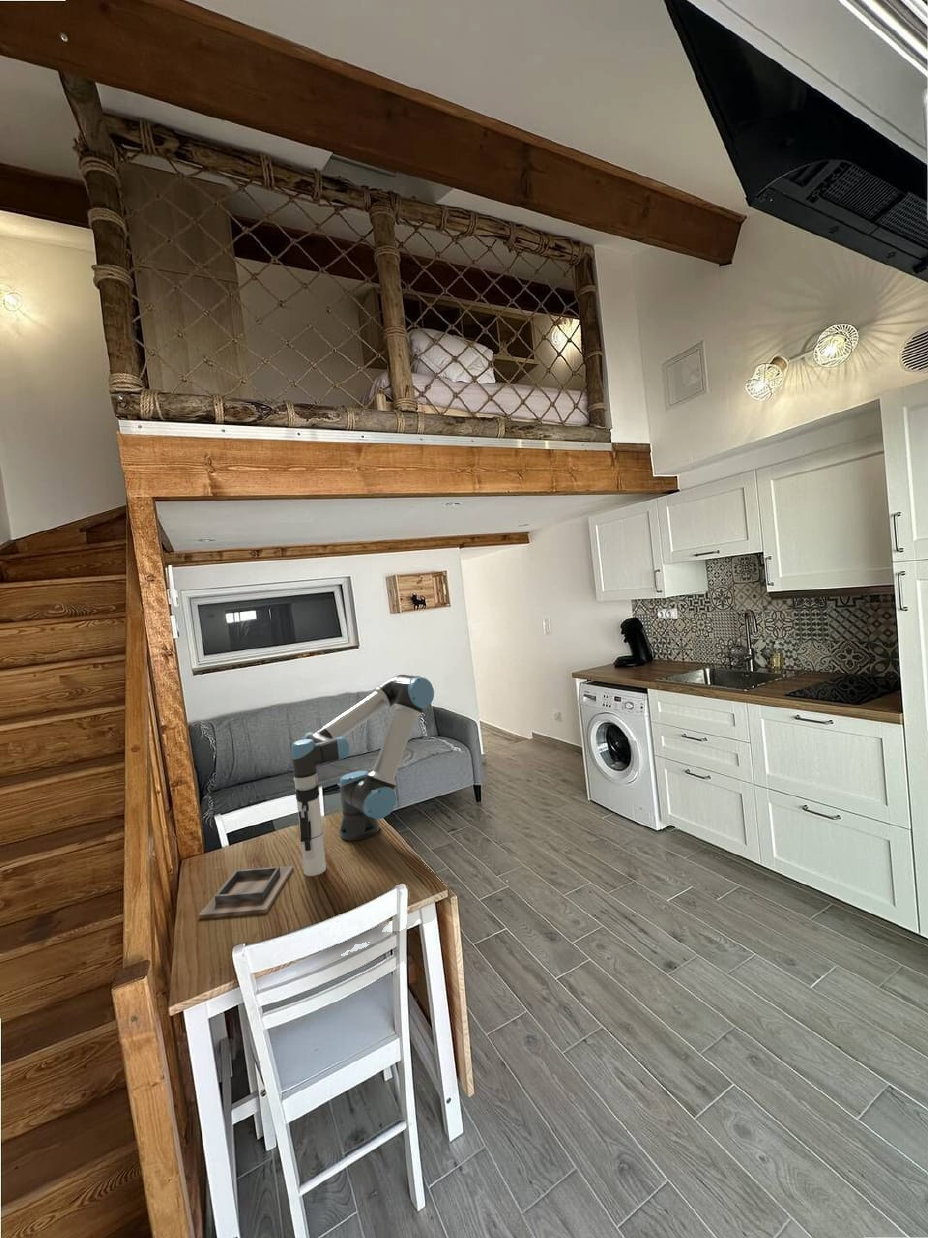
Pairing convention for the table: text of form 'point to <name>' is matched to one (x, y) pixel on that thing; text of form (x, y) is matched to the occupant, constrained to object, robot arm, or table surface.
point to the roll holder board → (247, 892)
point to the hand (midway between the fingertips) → (313, 852)
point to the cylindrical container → (314, 839)
